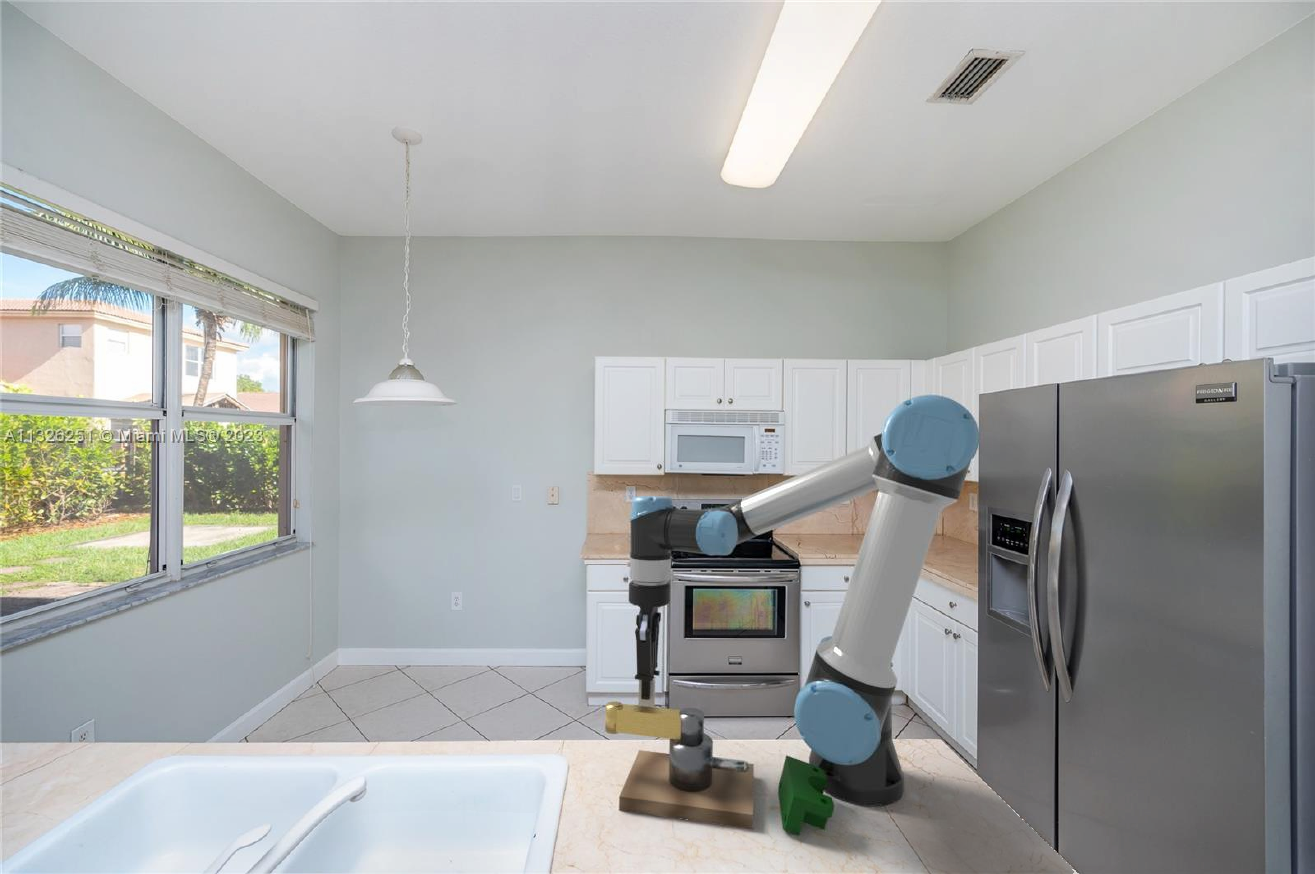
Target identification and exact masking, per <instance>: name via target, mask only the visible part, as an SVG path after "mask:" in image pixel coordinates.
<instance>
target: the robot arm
mask: <svg viewBox="0 0 1315 874" xmlns="http://www.w3.org/2000/svg"><path fill="white" fill-rule="evenodd" d="M979 444H980V431H979V426H978V424H977V421H976V420H975V418H974V416H973V415H972V413H971V411H970V410H968V409H967V408H966V407H965V406H964V405H963V404H961V403H960V402H958V401H956V400H954V399H951V398H949V397H946V396H943V395H939V394H938V395H937V394H923V395H918V396H915V397H911V398H909V399H907V400H904V401H903V402H901V403H900V404H898V405H897V406H896V407H895V408H893V410H892V411H891V412H890V414H889V415H888V416H887V417H886V419H885V420H884V423H883V426H882V430H881V433H879V434H877V435H875V436H872V437H871V439H870V441H869V444H868V445H866V446H864V447H861V448H859V449H857V450H854V451H852V452H850V453H847V454H845V455H843V456H840V457H838V458H835V459H832V460H831V461H829V462H826V463H824V464H821V465H818V466H817V467H814V468H811V469H809V470H807V471H805V472H802V473H799V474H798V475H795V476H793V477H791V478H787V479H786V480H784V481H781V482H779V483H777V484H774V485H772V486H770V487H767V488H764V489H762V490H759V491H758V492H755V493H753V494H750V495H747V496H746V497H743V498H741V499H737V500H736V501H733V502H732V503H729V504H726V505H724V506H721V507H714V508H705V509H693V508H692V509H691V508H689V509H688V508H678V507H677V508H676V507H674V505H673V500H672V498H671V497H670V496H663V495H662V496H660V495H659V496H658V495H639V496H636V497H634V498H633V500H632V504H631V509H630V510H631V512H630V513H631V514H630V518H629V522H630V551H629V553H630V554H629V561H627V563H626V567H629V568H630V569H629V579H630V580H631V581H630V582H629V584H628V602H629V604H631V605H633V606H638V607H639V612H638V614H636V618H635V619H636V620H635V623H636V624H635V625H636V626H637V627H636V628H635V631H634V634H635V641H636V642H635V643H636V644H635V645H636V646H635V647H636V674H635V675H634V679H635V680H638V705H637V706H647V707H656V706H655V705H656V676H657V677H658V676H660V672H661V671H660V670H656V669H657V668H658V667H659V665H658V657H659V656H658V654H659V636H660V622H661V621H662V613H661V612H659V608H660V607H664V606H667V605H668V604H670V601H671V584H670V582H669V581H670V580H671V577H672V555H671V554H672V551H674V552H676V551H678V552H687V553H695V554H702V555H707V556H711V557H712V556H728V555H730V554H732V553H733V551H734V549H735V548H736V546H737V545H739V544H742V543H744V542H746V541H747V540H751V539H752V538H755V537H757V536H759V535H763V534H765V533H767V532H770V531H772V530H775V529H778V528H781V527H783V526H785V525H788V524H791V523H793V522H797V521H799V520H801V519H804V518H806V517H809V516H812V515H814V514H818V513H820V512H823V511H825V510H827V509H830V508H833V507H836V506H838V505H840V504H843V503H846V502H849V501H852V500H854V499H857V498H859V497H861V496H864V495H867V494H870V493H871V492H874V491H877V490H878V493H877V496H876V499H875V501H874V505H873V509H872V512H871V515H870V518H869V521H868V524H867V526H866V530H865V533H864V536H863V539H862V543H861V546H860V548H859V551H858V554H857V558H856V561H855V565H854V568H853V570H852V573H851V577H850V579H849V582H848V586H847V589H846V591H845V595H844V598H843V602H842V604H841V607H840V611H839V614H838V617H837V620H836V623H835V626H834V629H833V633H832V635H831V636H825V637H822V638H821V640H820V643H819V644H818V645H817V647H816V650H815V653H814V656H813V659H812V662H811V665H810V668H809V672H808V675H807V677H806V681H805V683H804V685H803V687H801V689H800V691H799V692H798V694H797V695H796V698H795V704H794V708H793V709H794V712H793V713H794V722H795V725H796V728H797V730H798V732H799V735H800V736H801V738H802V740H803V741H804V743H805V744H806V746H808V747H809V748H810V749H811V750H810V752H809V756H808V757H809V758H808V763H809V764H812V765H815V766H817V767H819V768H821V769H822V770H823V771H824V773H825V776H826V779H827V781H826V785H825V789H824V792H826V793H827V794H829V795H831V796H834V797H835V798H837V799H840V800H843V801H845V802H848V803H853V804H858V805H864V806H886V805H890V804H892V803H893V804H894V803H896V802H897V801H899V800H900V799H901V798H902V797H903V795H904V792H905V777H904V772H903V768H902V766H901V763H900V759H899V756H898V754H897V750H896V748H895V747H896V746H895V744H894V741H893V728H892V727H893V714H892V713H893V709H892V706H893V704H892V702H893V701H892V699H893V697H894V693H895V689H896V686H897V683H898V678H897V676H896V673H895V672H894V670H893V665H894V664H893V662H892V660H893V658H894V655H895V652H896V649H897V645H898V644H899V640H900V636H901V633H902V630H903V628H904V624H905V621H906V619H907V615H908V612H909V609H910V607H911V603H912V601H913V597H914V594H915V592H916V588H917V586H918V582H919V579H920V577H921V573H922V571H923V570H922V569H923V566H924V564H925V561H926V558H927V555H928V552H929V549H930V546H931V543H932V540H933V538H934V534H935V532H936V528H937V525H938V522H939V519H940V516H941V513H942V510H944V509H945V508H947V507H949V506H952V505H953V504H955V503H957V502H958V501H959V498H960V495H961V492H962V489H963V487H964V483H965V481H966V478H967V473H968V471H969V468H970V464H971V462H972V460H973V459H974V458H975V456H976V454H977V452H978V449H979Z"/></svg>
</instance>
